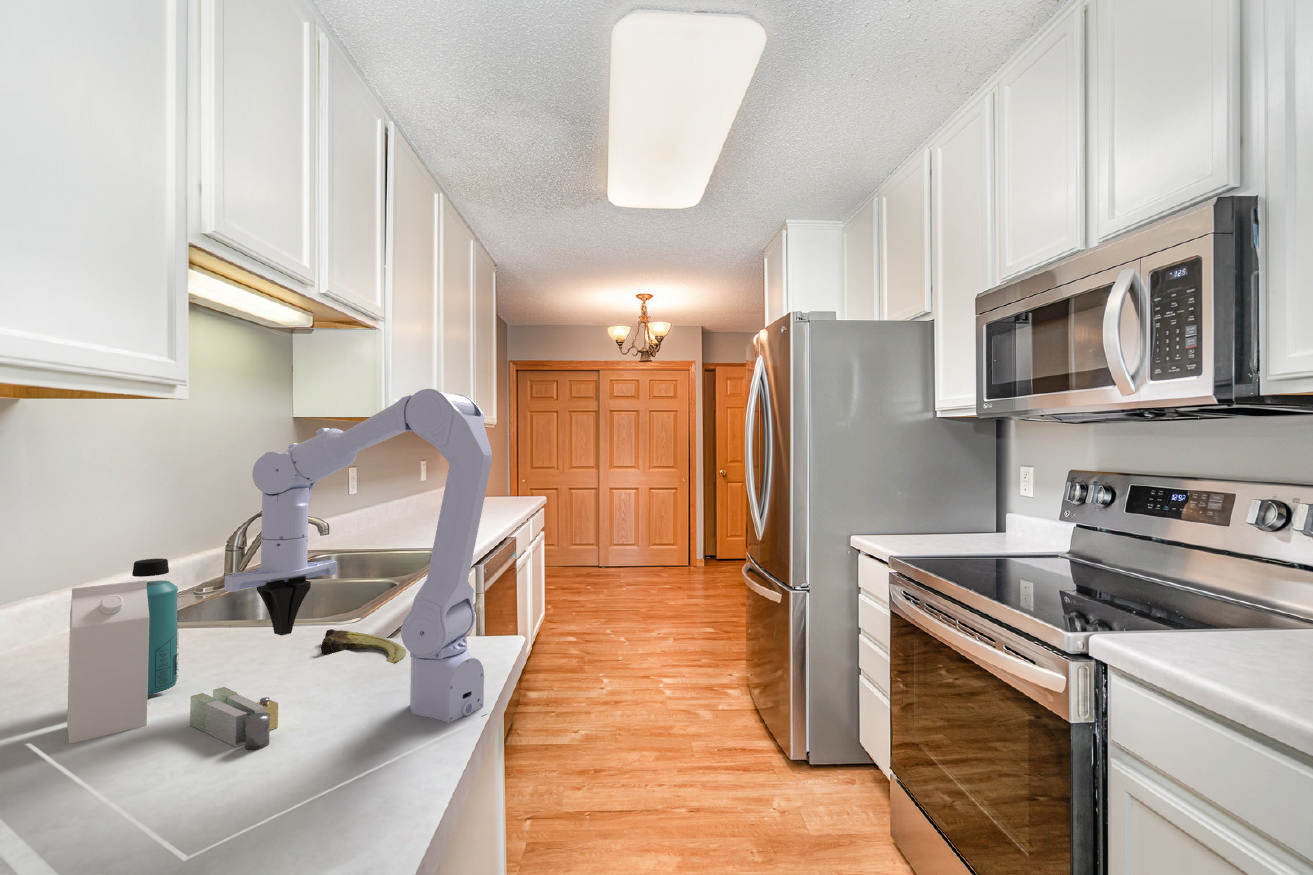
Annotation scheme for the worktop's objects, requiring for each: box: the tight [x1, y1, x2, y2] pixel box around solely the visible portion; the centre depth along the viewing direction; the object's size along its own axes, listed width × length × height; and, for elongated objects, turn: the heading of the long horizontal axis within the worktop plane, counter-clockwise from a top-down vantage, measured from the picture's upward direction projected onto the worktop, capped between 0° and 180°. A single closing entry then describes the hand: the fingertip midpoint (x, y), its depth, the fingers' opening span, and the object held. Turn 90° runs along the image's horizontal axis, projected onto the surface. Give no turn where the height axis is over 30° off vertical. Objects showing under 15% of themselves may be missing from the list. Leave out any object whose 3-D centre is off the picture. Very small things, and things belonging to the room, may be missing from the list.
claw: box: [320, 629, 407, 664], centre depth 113 cm, size 20×10×3 cm, turn 69°
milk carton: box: [66, 579, 149, 744], centre depth 79 cm, size 7×7×19 cm
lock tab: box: [256, 696, 279, 731], centre depth 78 cm, size 2×2×4 cm
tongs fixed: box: [189, 692, 271, 751], centre depth 76 cm, size 14×3×4 cm, turn 59°
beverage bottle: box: [131, 558, 180, 695], centre depth 91 cm, size 6×7×20 cm
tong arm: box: [212, 686, 266, 717], centre depth 78 cm, size 11×1×4 cm, turn 57°
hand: (282, 633), depth 89 cm, fingers closed
